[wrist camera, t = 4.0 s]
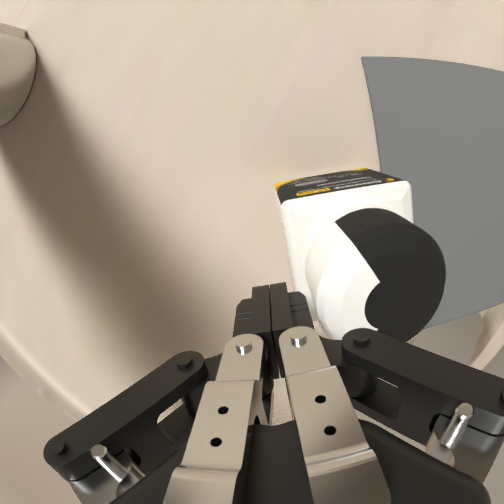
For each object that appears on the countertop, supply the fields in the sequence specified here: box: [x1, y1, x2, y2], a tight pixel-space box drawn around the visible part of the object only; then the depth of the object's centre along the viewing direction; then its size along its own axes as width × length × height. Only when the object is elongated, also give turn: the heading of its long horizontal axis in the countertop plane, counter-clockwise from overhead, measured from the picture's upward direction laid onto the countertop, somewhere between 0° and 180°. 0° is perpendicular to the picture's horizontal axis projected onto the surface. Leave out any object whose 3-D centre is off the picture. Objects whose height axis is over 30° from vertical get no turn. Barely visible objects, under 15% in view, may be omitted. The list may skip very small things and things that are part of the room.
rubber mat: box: [361, 57, 504, 329], centre depth 21 cm, size 24×16×1 cm, turn 11°
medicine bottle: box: [274, 168, 446, 342], centre depth 16 cm, size 7×7×12 cm
